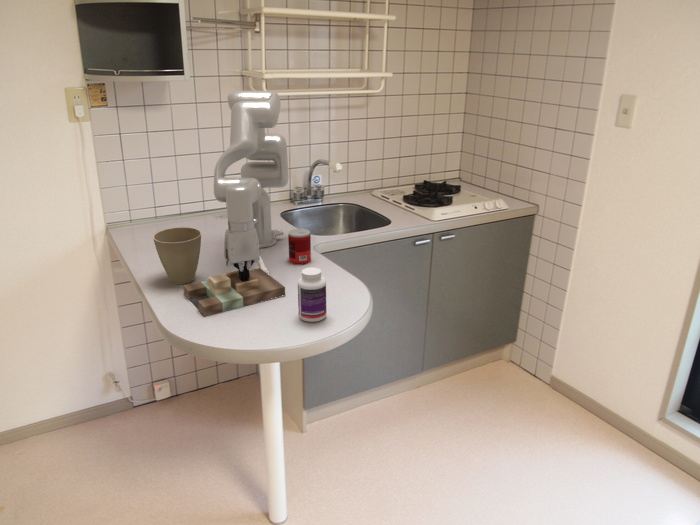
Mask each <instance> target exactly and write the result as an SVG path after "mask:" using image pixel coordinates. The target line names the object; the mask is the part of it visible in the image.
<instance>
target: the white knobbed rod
mask: <svg viewBox="0 0 700 525" xmlns="http://www.w3.org/2000/svg"><path fill="white" fill-rule="evenodd" d="M259 257H260V260H259V261H257V262H258V265H259V268H260V269H262V270H263V271H264V272H266V273H267V274H269V275H270V271H269V270H268V268H267V267H266V265H265V263H264V260H263V258H262V257H261V255H260V256H259Z"/></svg>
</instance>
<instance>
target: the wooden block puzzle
mask: <svg viewBox="0 0 700 525" xmlns="http://www.w3.org/2000/svg"><path fill="white" fill-rule="evenodd" d="M224 274H225V275H226V276H227V277H228V278H230V282H231V291H230V292H226V293H221V294H217V295H215V294H214V293H213V292H212V291H211V290H210V289H209V279H205V280H201V281H196V282H190V283H186V284H182V285H183V293H184V295H185V296H186V298H188V300H189V301H190V302H191V303H192V304H193V306H195V307H196V309H197V310H198V311H199V312H200V313H201V314H202V315H203V316H204V317H208V316H211V315H215V314H219V313H224V312H227V311H231V310H234V309H240V308H242V307H247V306H250V305H255V304H258V302H259V303H262V302H261V301H263V302H266V301H265V300H267V301H269V300H268V299H270V300H272V299H271V298H274V299H276V298H275V297H278V298H280V297H279V296H282V295H285V296H286V287H285V286H284V285H283V284H282V283H280V282H279V281H278V280H276V279H275V278H274V277H273V276H272V275H270V274H269V275H268V274H267V273H266V272H264V271H263V270H262V269H261V268H260V267H258V268H253V269H250V270H249V274H250V278H249V281H246V282H242V281H241V280H240V279H239V273H238V270H236V271H231V272H227V273H224ZM282 297H283V296H282ZM254 303H255V304H254Z"/></svg>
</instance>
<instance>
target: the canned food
mask: <svg viewBox="0 0 700 525" xmlns="http://www.w3.org/2000/svg"><path fill="white" fill-rule="evenodd" d="M287 236H288V237H287V238H288V239H287V240H288V241H287V242H288V260H289V263H291V264H293V265H295V264H303V265H306V264H305V263H307V264H309V263H310V262H311V259H312V252H311V251H312V246H311V245H312V244H311V241H312V240H311V239H312V237H311V231H310V230H309V229H307V228H293V229H290V230H289V231H288V234H287ZM308 262H309V263H308Z"/></svg>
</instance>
